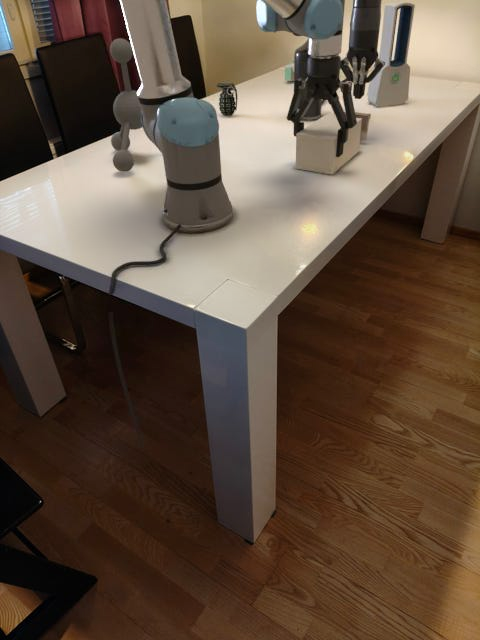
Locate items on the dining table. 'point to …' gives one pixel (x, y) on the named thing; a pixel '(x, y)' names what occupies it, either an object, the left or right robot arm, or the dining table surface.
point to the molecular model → (124, 108)
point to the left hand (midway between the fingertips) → (319, 152)
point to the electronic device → (396, 73)
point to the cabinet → (325, 145)
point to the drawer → (363, 124)
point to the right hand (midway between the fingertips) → (358, 98)
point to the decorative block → (290, 72)
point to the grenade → (227, 99)
